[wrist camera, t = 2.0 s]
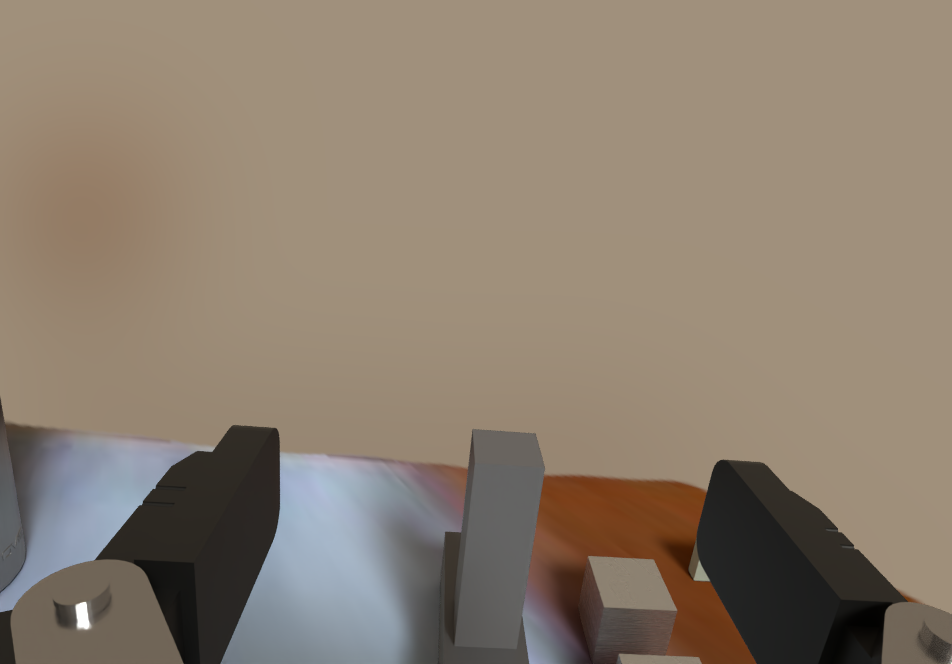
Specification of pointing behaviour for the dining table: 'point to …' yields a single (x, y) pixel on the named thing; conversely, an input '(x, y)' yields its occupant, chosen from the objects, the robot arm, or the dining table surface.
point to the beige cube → (655, 659)
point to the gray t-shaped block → (491, 552)
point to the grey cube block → (625, 608)
